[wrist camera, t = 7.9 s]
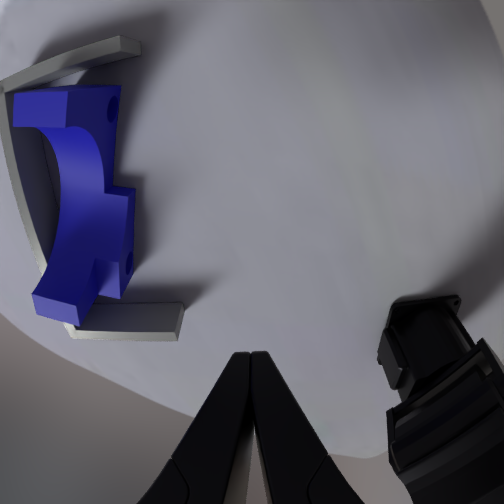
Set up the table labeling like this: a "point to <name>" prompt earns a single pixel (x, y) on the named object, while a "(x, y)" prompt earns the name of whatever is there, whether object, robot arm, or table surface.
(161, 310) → the grey u-shaped bracket
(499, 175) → the table surface
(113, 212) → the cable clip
